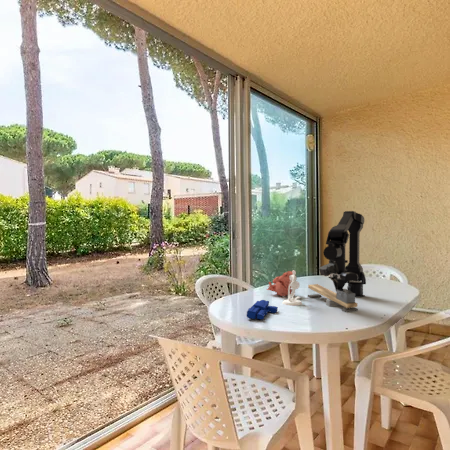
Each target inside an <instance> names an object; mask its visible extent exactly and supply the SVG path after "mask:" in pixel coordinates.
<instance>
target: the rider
mask: <svg viewBox="0 0 450 450" xmlns="http://www.w3.org/2000/svg"><path fill="white" fill-rule="evenodd" d="M336 293H337V294H336V299H338V300H340V301H342V302H344V303H346V304H348V303H355V302H356V297H355V293H354V292H351V291H349V290H347V288H343V289H337V292H336Z"/></svg>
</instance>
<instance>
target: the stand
mask: <svg viewBox="0 0 450 450" xmlns="http://www.w3.org/2000/svg"><path fill="white" fill-rule="evenodd" d="M307 298H310V299H313V298H314V299H315V298H322V295H321V294H319V293H316V294H307ZM325 303H326V306H328V307H335V306H341V305H340V304H338V303H336V302H334V301H332V300H331V299H329V298H326V300H325ZM341 311H342V312H343V313H350V312H358V311H359V308H358V307H352V308H346V307H344V308H341Z"/></svg>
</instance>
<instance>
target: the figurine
mask: <svg viewBox="0 0 450 450" xmlns="http://www.w3.org/2000/svg"><path fill="white" fill-rule="evenodd" d="M292 273H293V275H290V276H289V277H290V280H291V281H292V282H291V284H290V285H289V288H288V295H287V299H284V300H283V301H282V305H285V306H292V307H293V306H302V304H303V303H302V302H303V301H301V300H300V298H301V297H300V296H296V297H294V296H295V294H296V290H297V289H299V288H300V285H301V284H300V282H299V281H297V276H295V275H296V274H297V271H296V270H295V269H294V270H292ZM290 286H291V289H292V293H291V294H290Z"/></svg>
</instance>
